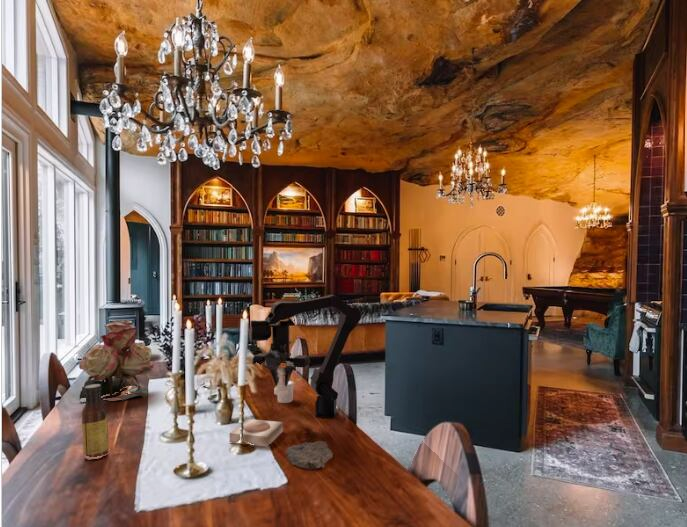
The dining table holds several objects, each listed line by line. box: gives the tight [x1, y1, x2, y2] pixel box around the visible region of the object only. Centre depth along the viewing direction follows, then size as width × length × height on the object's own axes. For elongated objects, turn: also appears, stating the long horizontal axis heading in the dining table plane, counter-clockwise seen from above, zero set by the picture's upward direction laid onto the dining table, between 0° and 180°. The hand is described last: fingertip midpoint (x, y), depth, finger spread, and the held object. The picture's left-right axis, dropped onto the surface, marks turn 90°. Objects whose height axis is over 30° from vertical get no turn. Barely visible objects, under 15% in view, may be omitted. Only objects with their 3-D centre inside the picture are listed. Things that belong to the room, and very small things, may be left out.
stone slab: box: [285, 440, 334, 471], centre depth 126 cm, size 12×17×3 cm
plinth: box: [229, 418, 284, 448], centre depth 140 cm, size 12×12×3 cm
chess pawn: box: [273, 365, 289, 396], centre depth 154 cm, size 5×5×9 cm
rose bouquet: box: [78, 319, 155, 401], centre depth 186 cm, size 26×29×30 cm
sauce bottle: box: [81, 384, 110, 457], centre depth 128 cm, size 6×6×20 cm
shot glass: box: [276, 380, 295, 404], centre depth 175 cm, size 7×7×7 cm
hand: (281, 385), depth 154 cm, fingers closed on chess pawn, 3 cm apart
